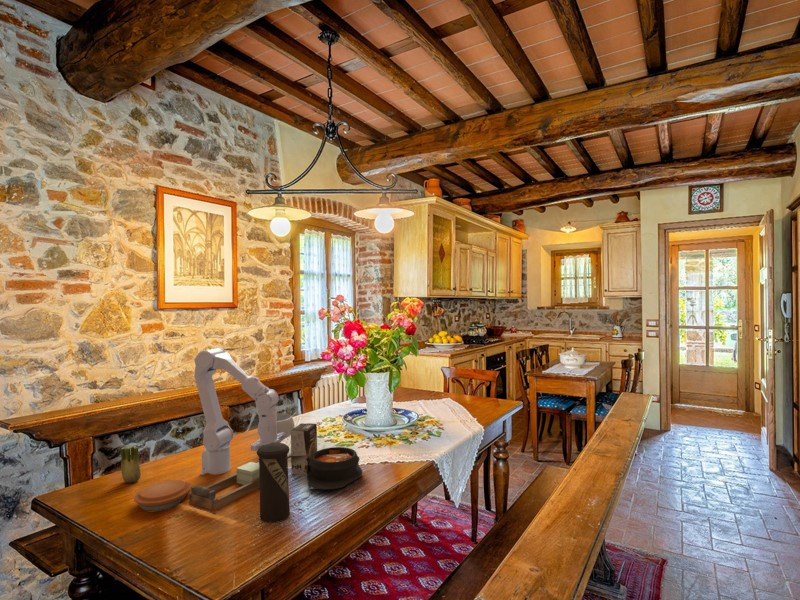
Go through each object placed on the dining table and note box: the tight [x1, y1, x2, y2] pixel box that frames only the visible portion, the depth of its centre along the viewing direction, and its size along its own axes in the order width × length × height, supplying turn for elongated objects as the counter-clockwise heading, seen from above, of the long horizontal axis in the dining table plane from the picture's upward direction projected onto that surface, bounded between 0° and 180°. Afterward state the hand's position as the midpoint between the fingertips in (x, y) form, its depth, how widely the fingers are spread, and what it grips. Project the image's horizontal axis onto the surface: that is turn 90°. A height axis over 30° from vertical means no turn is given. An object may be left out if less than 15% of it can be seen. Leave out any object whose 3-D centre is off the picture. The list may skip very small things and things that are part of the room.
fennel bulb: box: [120, 445, 142, 484], centre depth 152 cm, size 6×5×12 cm
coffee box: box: [290, 422, 318, 476], centre depth 157 cm, size 9×6×16 cm
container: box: [256, 442, 291, 524], centre depth 126 cm, size 9×9×20 cm
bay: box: [188, 473, 260, 515], centre depth 140 cm, size 11×25×6 cm, turn 151°
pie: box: [133, 479, 192, 512], centre depth 136 cm, size 15×16×5 cm
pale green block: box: [235, 461, 260, 486], centre depth 147 cm, size 7×6×5 cm
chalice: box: [257, 412, 296, 458], centre depth 174 cm, size 14×14×15 cm
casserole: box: [306, 446, 363, 491], centre depth 150 cm, size 25×19×8 cm
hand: (269, 465), depth 154 cm, fingers closed
